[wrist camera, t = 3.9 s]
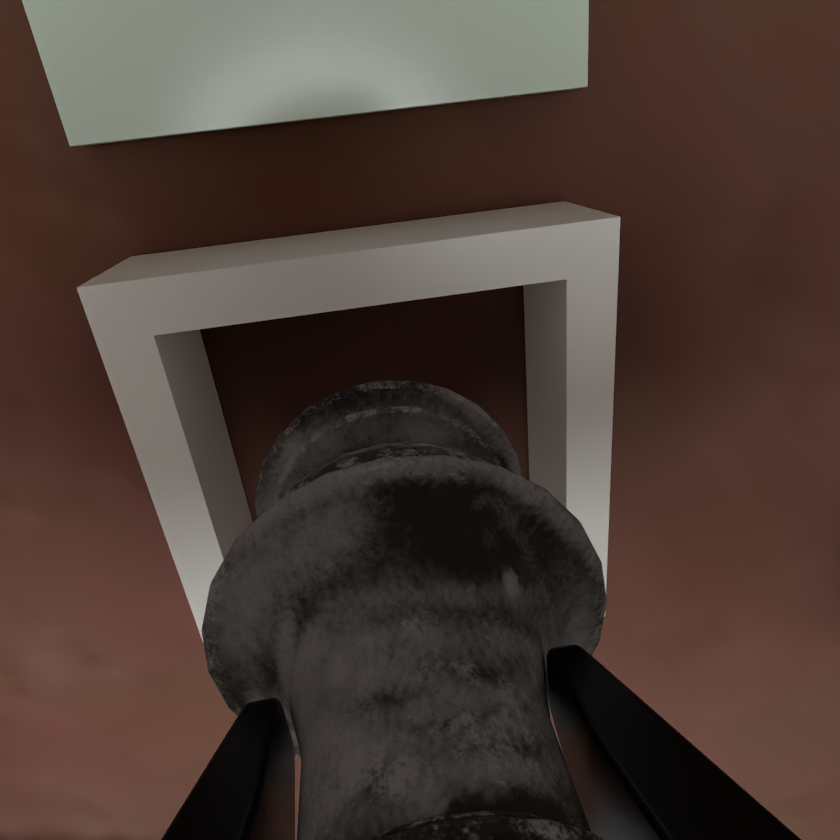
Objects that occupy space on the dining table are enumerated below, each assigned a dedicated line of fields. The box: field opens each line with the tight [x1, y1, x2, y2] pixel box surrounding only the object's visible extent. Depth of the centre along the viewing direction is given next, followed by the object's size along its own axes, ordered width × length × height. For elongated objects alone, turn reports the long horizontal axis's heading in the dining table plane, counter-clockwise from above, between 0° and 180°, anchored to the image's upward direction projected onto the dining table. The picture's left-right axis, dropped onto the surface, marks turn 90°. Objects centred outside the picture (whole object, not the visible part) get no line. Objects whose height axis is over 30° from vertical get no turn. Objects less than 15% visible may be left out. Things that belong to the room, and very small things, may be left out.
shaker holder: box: [77, 201, 620, 641], centre depth 14 cm, size 10×10×3 cm
